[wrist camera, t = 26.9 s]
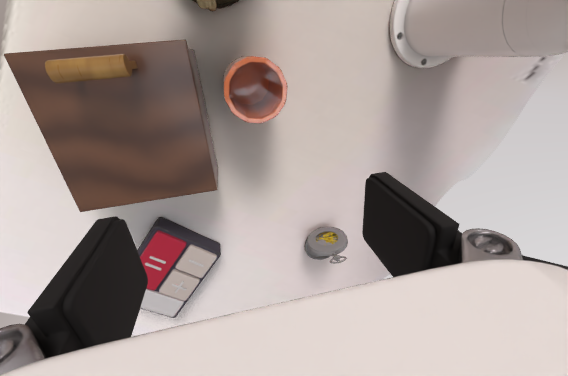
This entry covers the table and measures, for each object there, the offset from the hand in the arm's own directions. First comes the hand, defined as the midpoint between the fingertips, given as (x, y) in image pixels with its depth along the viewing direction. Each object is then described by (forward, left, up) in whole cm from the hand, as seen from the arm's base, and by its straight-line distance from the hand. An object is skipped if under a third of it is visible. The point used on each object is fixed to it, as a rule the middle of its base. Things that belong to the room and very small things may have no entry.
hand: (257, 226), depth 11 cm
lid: (+11, -3, -23) cm, 26 cm away
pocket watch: (-3, +28, -31) cm, 42 cm away
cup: (-3, -1, -30) cm, 31 cm away
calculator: (+22, +18, -31) cm, 42 cm away
